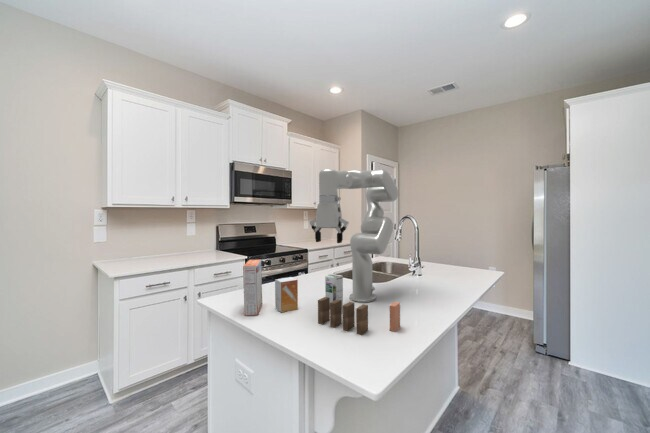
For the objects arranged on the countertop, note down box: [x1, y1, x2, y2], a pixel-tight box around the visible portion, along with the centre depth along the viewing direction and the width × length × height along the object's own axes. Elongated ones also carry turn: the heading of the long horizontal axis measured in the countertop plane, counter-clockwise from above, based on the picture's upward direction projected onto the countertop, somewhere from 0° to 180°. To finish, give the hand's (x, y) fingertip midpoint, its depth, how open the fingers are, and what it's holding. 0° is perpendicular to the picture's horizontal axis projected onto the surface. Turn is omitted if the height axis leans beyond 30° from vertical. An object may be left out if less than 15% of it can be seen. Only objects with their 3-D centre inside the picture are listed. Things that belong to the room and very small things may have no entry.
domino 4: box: [355, 304, 369, 336], centre depth 101 cm, size 2×5×9 cm, turn 145°
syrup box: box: [324, 273, 344, 309], centre depth 126 cm, size 6×6×14 cm
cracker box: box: [242, 259, 263, 317], centre depth 124 cm, size 14×6×21 cm, turn 5°
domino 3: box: [342, 301, 356, 333], centre depth 104 cm, size 2×5×9 cm, turn 145°
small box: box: [274, 276, 299, 313], centre depth 126 cm, size 8×6×13 cm
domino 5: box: [389, 301, 401, 333], centre depth 104 cm, size 2×5×9 cm, turn 145°
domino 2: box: [329, 299, 343, 329], centre depth 108 cm, size 2×5×9 cm, turn 145°
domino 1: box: [317, 296, 330, 326], centre depth 111 cm, size 2×5×9 cm, turn 145°
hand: (328, 242), depth 118 cm, fingers open, 9 cm apart
